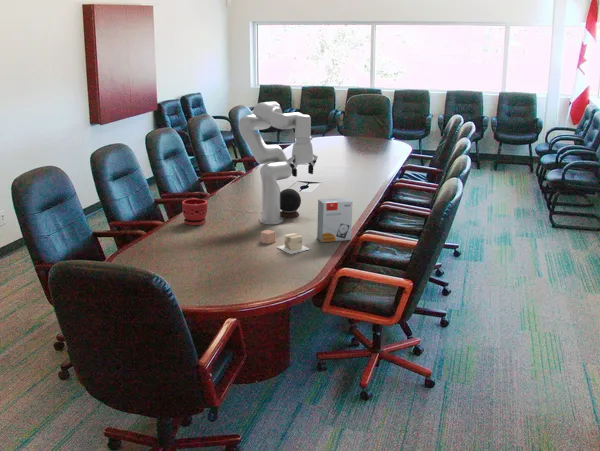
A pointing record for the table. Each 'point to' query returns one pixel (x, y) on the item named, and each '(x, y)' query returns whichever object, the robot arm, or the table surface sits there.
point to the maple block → (293, 241)
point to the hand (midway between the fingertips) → (302, 174)
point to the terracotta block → (268, 236)
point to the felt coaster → (293, 250)
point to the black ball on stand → (289, 203)
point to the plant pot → (194, 211)
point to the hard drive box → (334, 219)
